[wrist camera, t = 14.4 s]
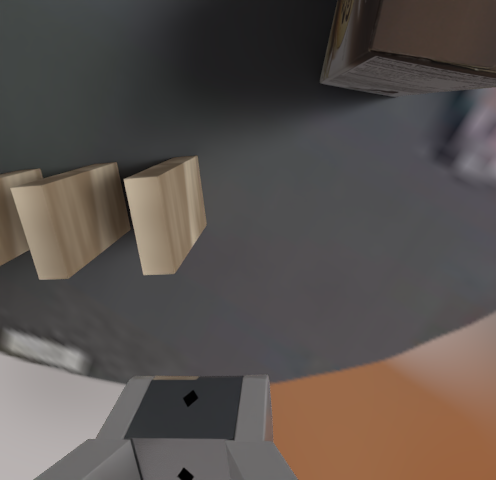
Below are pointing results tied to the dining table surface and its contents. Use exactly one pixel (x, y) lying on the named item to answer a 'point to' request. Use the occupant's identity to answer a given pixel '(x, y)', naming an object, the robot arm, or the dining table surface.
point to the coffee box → (411, 46)
